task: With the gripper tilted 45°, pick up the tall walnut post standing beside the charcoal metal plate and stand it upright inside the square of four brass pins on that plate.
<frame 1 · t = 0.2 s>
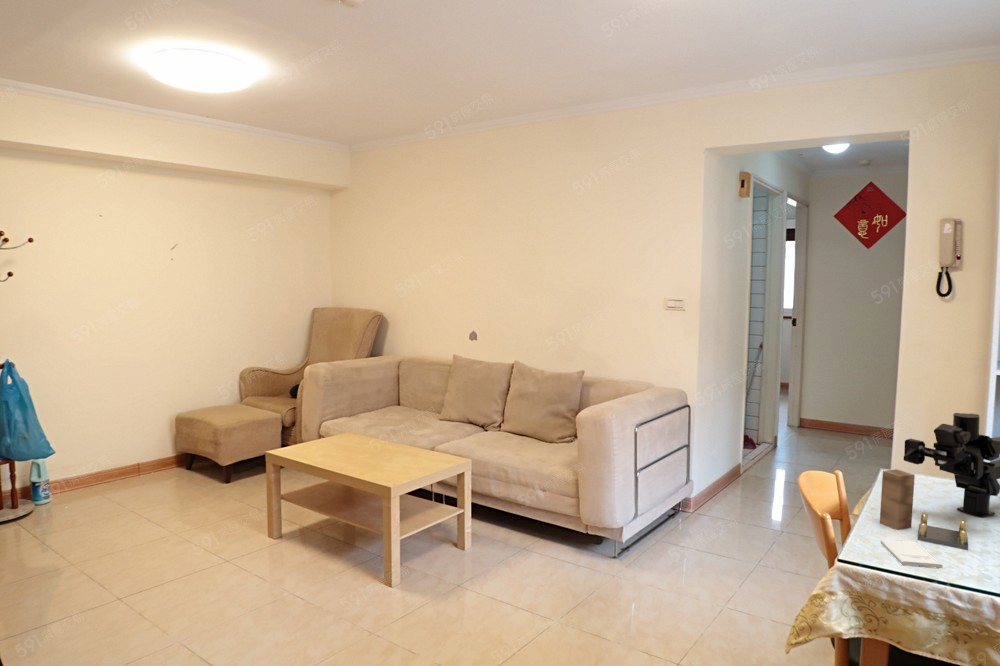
hand: (921, 463, 166), 17 cm above the table, tool horizontal, fingers open, 9 cm apart
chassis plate: (942, 538, 158), on the table
external hard drive: (909, 558, 148), on the table
walnut post: (895, 525, 167), on the table
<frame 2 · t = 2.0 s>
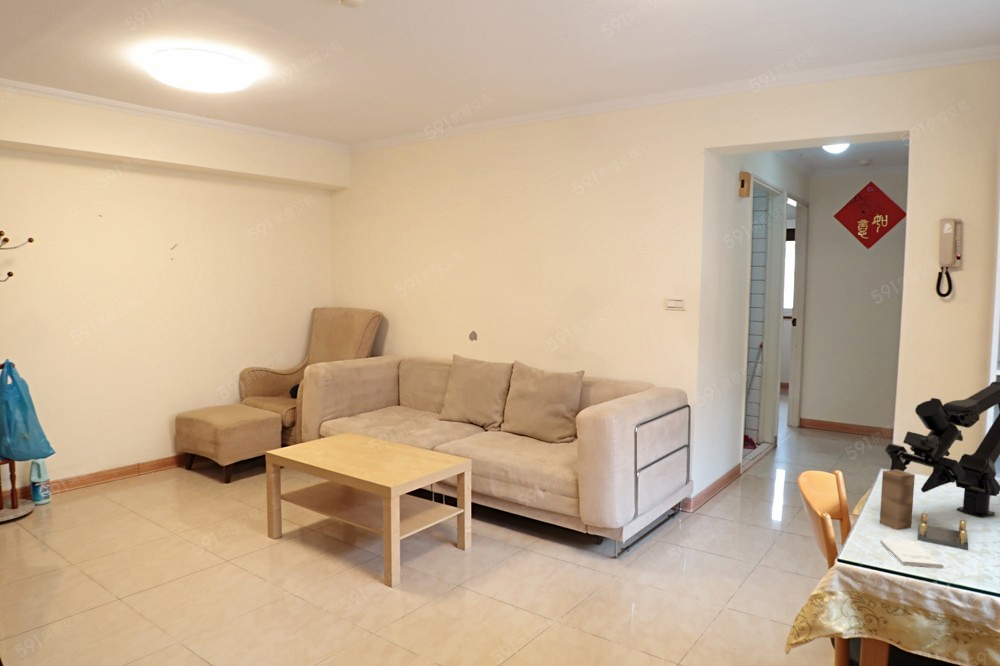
hand: (905, 485, 167), 10 cm above the table, tool tilted 45°, fingers open, 9 cm apart
nothing on the table moved.
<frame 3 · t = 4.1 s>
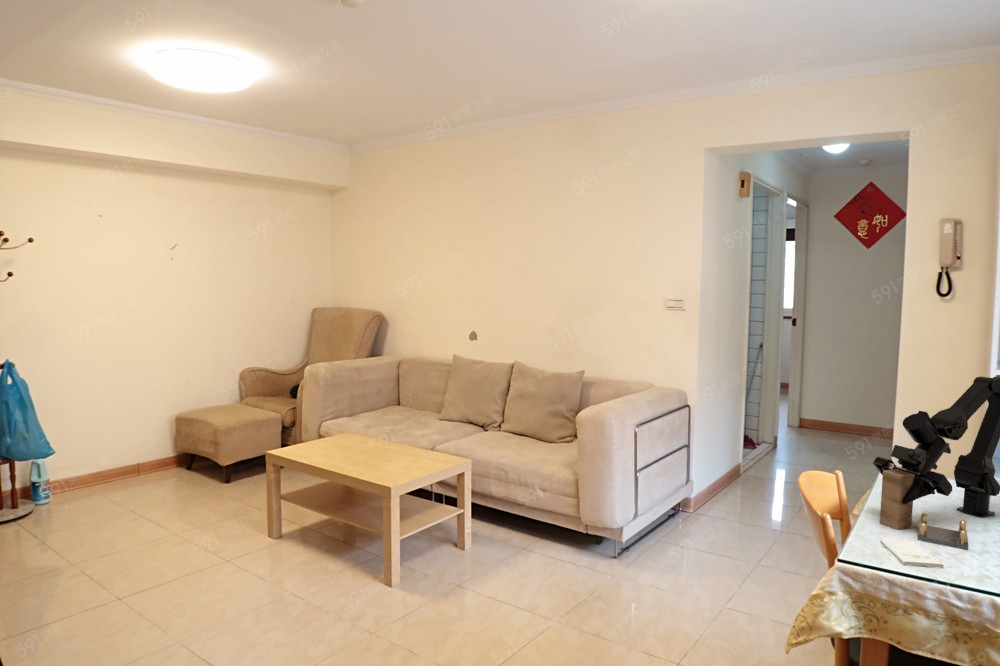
hand: (893, 499, 166), 7 cm above the table, tool tilted 45°, fingers closed on walnut post, 5 cm apart
walnut post: (895, 525, 167), on the table, touching gripper
everything else where it was.
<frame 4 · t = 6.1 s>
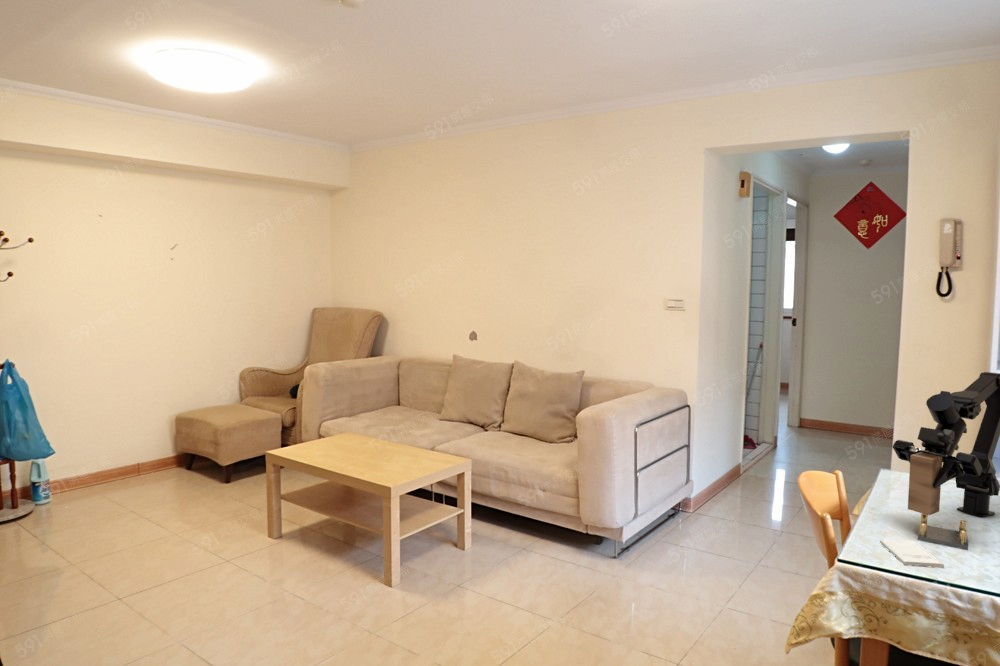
hand: (922, 484, 160), 13 cm above the table, tool tilted 45°, fingers closed on walnut post, 5 cm apart
walnut post: (923, 510, 161), point 6 cm above the table, touching gripper
everything else where it was.
when the fingers open (9 cm above the table, at t = 8.2 s): walnut post stays where it is, resting on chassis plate.
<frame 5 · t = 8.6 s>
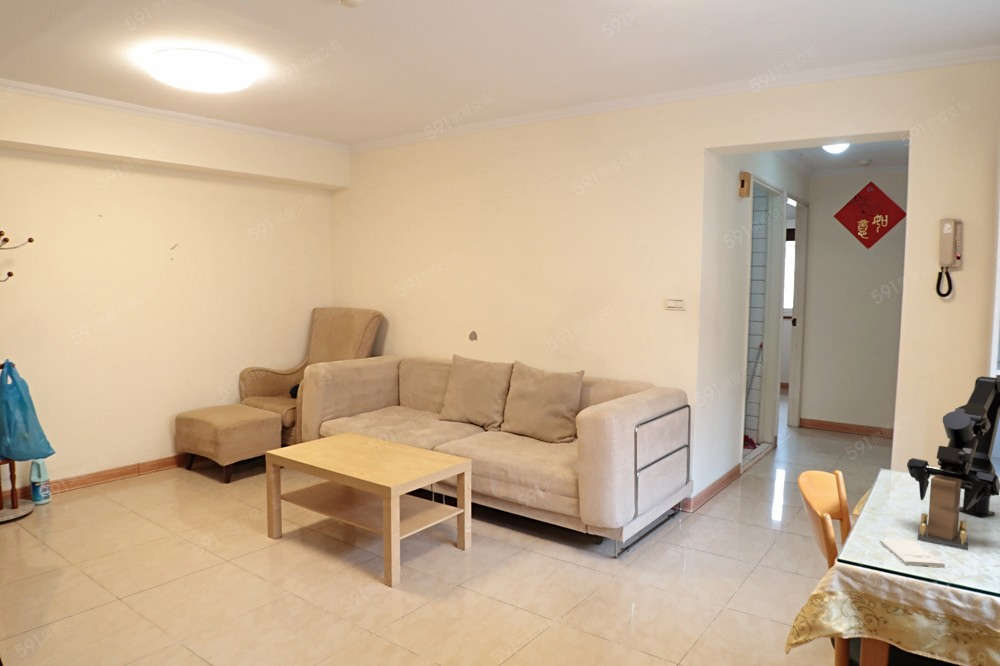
hand: (942, 504, 157), 9 cm above the table, tool tilted 45°, fingers open, 9 cm apart
walnut post: (942, 534, 158), point 1 cm above the table, touching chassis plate
everything else where it was.
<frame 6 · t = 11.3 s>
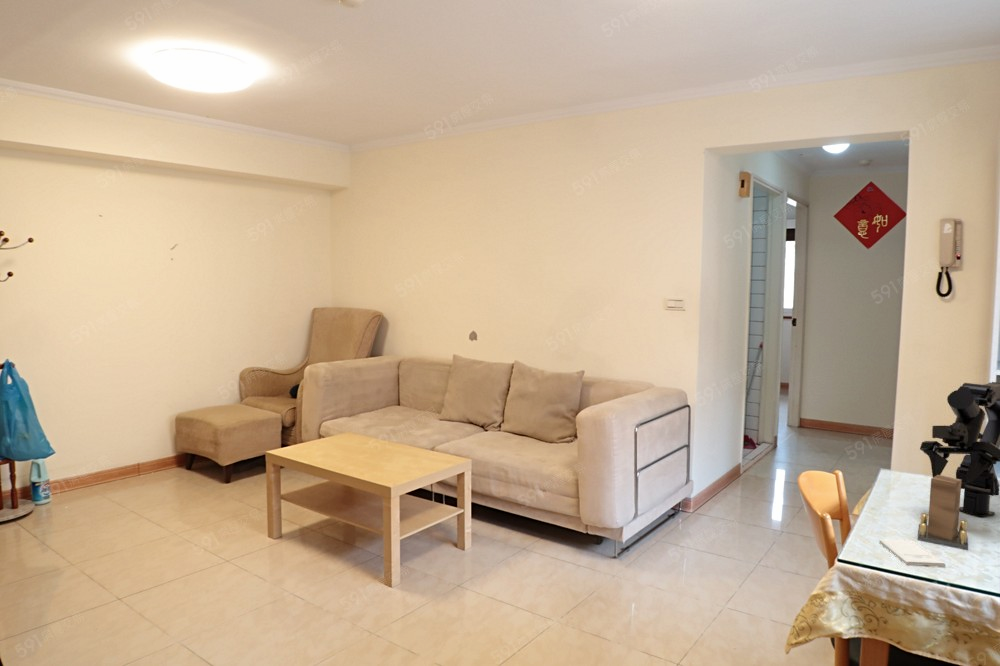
hand: (951, 480, 164), 13 cm above the table, tool tilted 35°, fingers open, 9 cm apart
nothing on the table moved.
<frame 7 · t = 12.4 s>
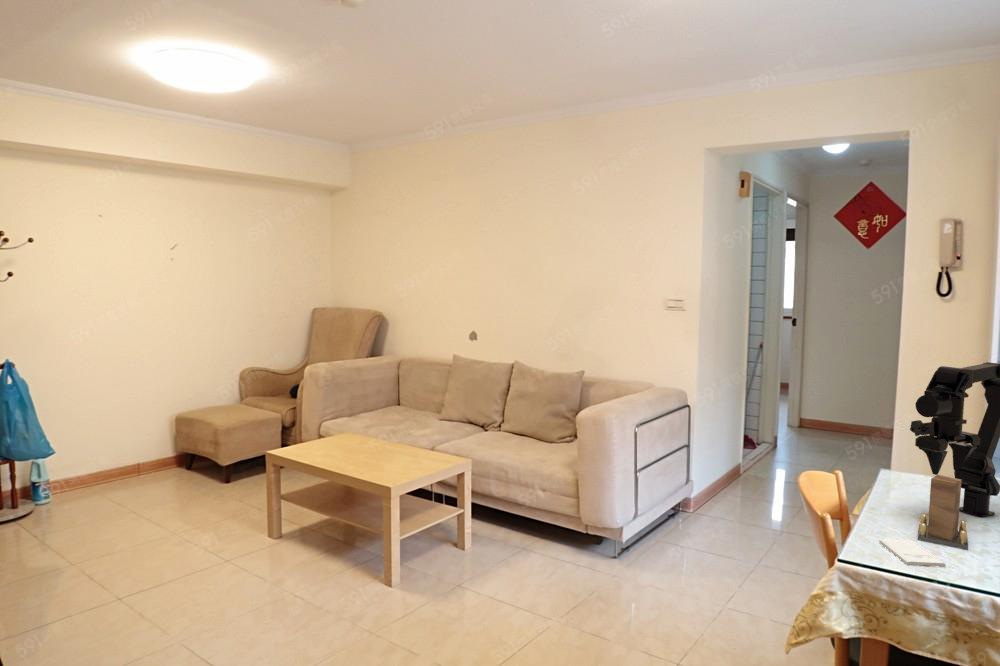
hand: (945, 472, 170), 13 cm above the table, tool pointing down, fingers open, 9 cm apart
nothing on the table moved.
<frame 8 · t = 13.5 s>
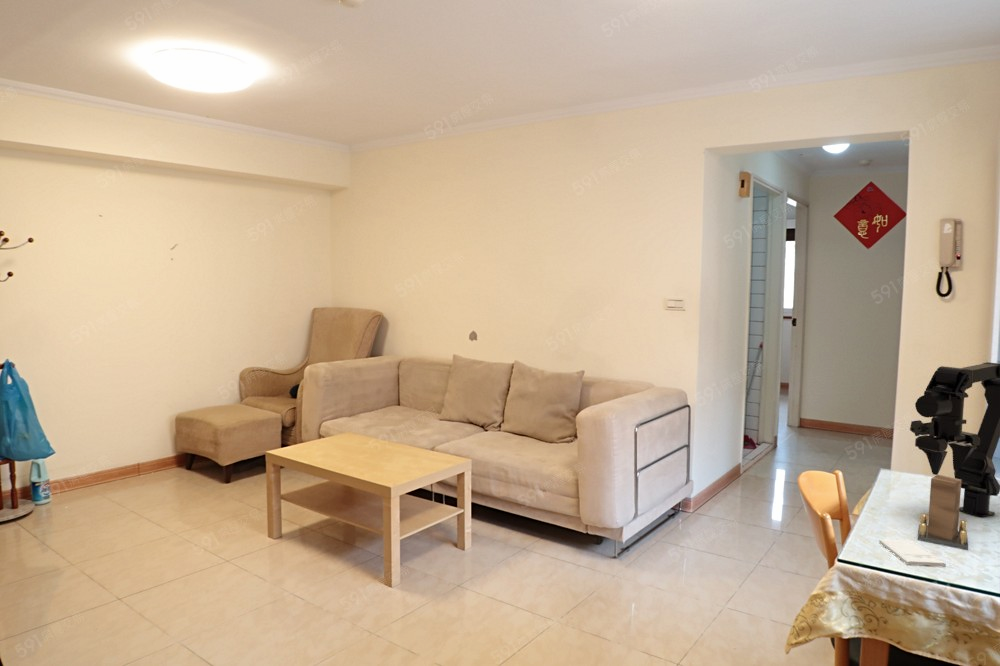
hand: (945, 472, 170), 13 cm above the table, tool pointing down, fingers open, 9 cm apart
nothing on the table moved.
at the end: walnut post 0.0 cm off-centre on the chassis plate, point 1.0 cm above the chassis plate's base; walnut post tilted 0°; the gripper is holding nothing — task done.
